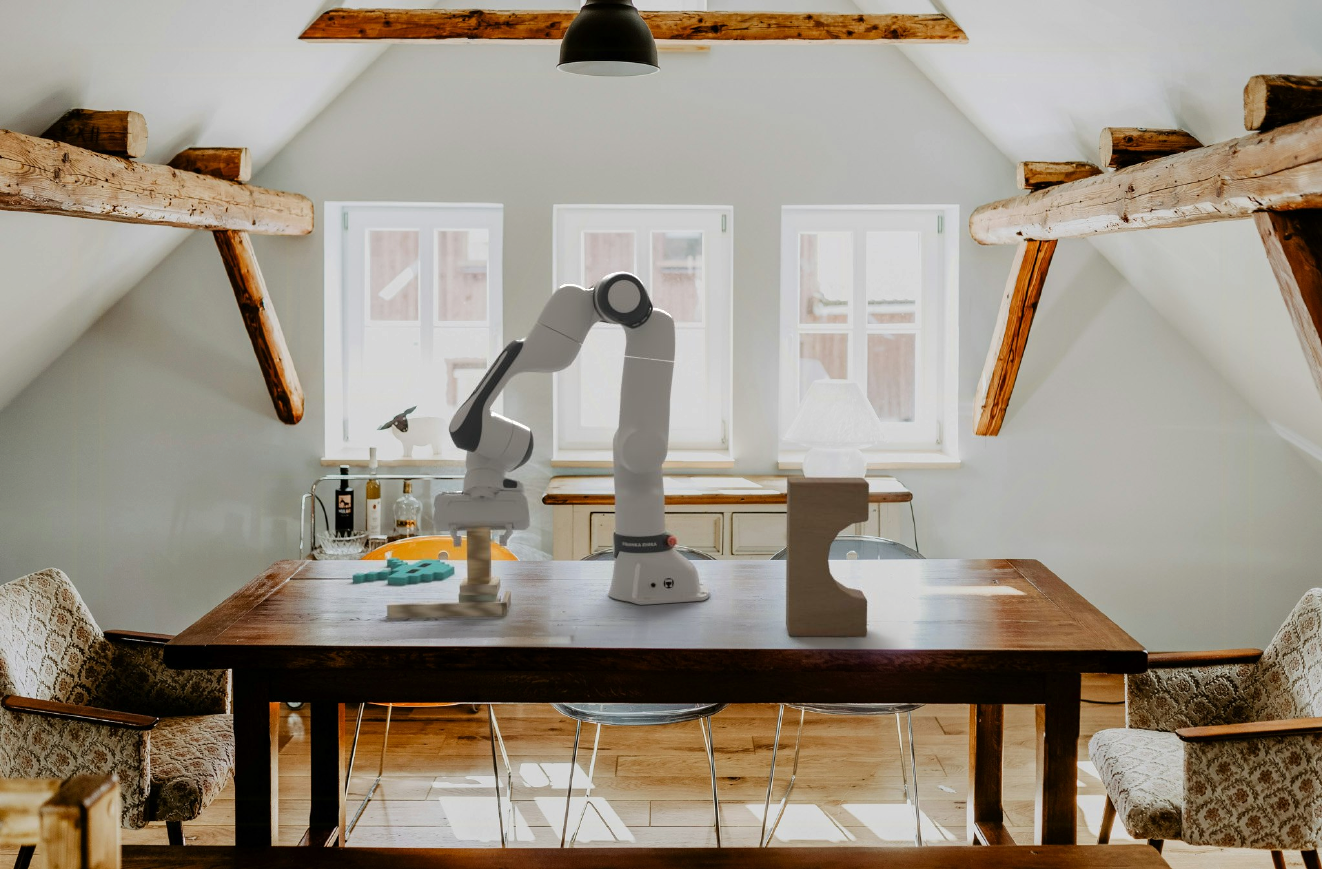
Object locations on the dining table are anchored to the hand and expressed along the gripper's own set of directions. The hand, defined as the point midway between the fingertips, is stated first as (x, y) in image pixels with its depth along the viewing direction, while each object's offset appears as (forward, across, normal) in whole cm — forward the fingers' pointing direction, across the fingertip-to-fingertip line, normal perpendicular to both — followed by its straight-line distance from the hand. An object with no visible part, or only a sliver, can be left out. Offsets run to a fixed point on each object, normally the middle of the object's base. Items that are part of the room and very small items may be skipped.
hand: (480, 544), depth 217 cm
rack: (+11, -6, +9) cm, 16 cm away
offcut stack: (+10, 0, +8) cm, 13 cm away
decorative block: (+24, +69, -3) cm, 73 cm away
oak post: (+6, 0, +4) cm, 7 cm away
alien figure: (-16, -21, +37) cm, 46 cm away
